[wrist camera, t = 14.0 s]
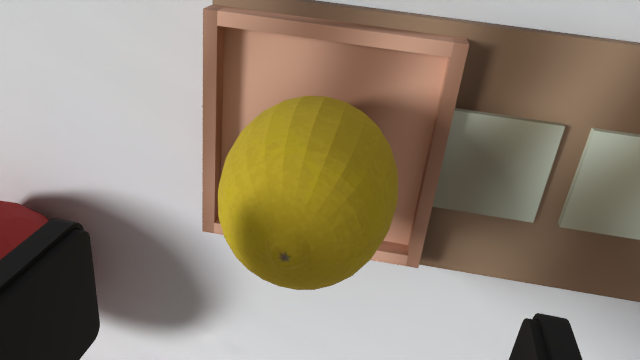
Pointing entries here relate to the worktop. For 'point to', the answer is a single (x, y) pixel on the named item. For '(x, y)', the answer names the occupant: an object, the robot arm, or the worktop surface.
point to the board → (455, 131)
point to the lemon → (308, 192)
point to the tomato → (17, 225)
